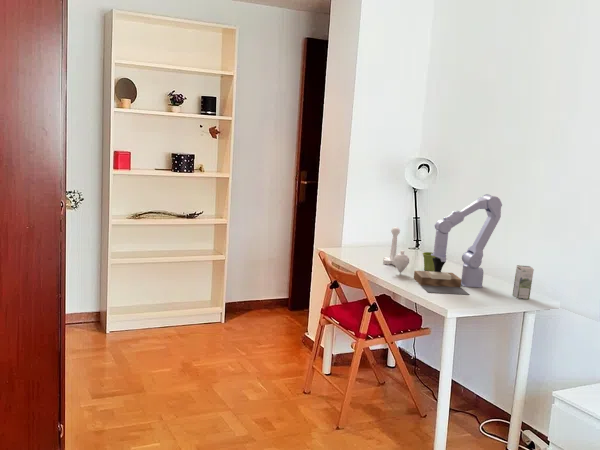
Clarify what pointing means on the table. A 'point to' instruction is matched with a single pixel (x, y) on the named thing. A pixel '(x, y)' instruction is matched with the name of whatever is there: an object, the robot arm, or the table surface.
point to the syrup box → (523, 282)
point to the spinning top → (401, 261)
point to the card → (439, 275)
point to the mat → (444, 290)
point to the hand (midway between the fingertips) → (437, 273)
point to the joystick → (392, 247)
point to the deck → (436, 280)
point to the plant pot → (428, 261)
